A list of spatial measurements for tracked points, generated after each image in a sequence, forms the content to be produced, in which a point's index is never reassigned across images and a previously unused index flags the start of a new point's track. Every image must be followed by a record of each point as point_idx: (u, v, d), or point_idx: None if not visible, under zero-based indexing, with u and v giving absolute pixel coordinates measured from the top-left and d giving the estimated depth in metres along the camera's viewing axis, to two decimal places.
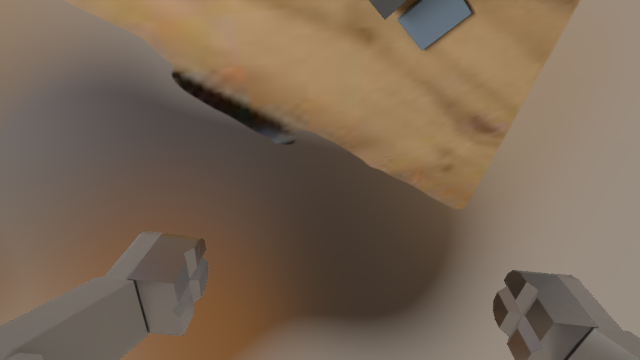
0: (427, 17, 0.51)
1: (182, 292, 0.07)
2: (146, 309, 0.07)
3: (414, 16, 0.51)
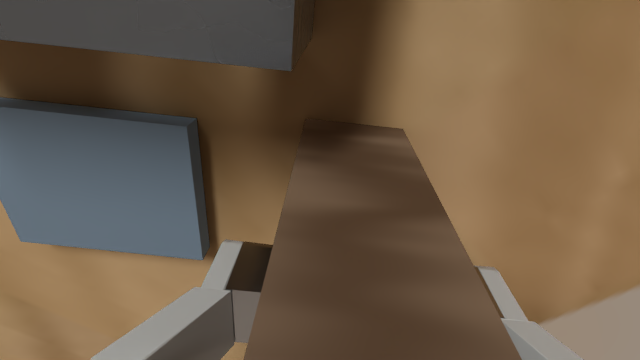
0: (70, 175, 0.14)
1: None
2: (238, 318, 0.07)
3: (25, 139, 0.13)
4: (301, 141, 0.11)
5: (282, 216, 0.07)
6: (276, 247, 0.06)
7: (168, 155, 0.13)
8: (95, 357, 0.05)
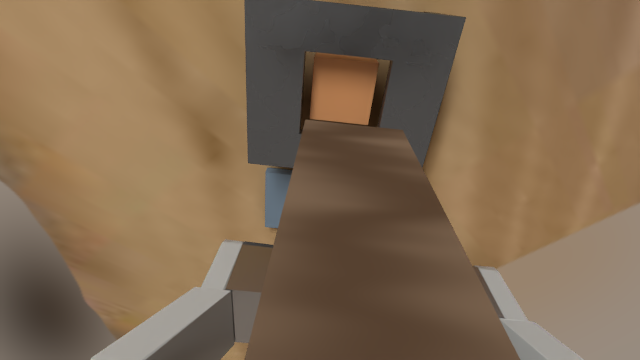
0: None
1: None
2: (238, 318, 0.07)
3: (287, 185, 0.33)
4: (301, 142, 0.11)
5: (282, 218, 0.07)
6: (276, 249, 0.06)
7: None
8: (97, 358, 0.05)
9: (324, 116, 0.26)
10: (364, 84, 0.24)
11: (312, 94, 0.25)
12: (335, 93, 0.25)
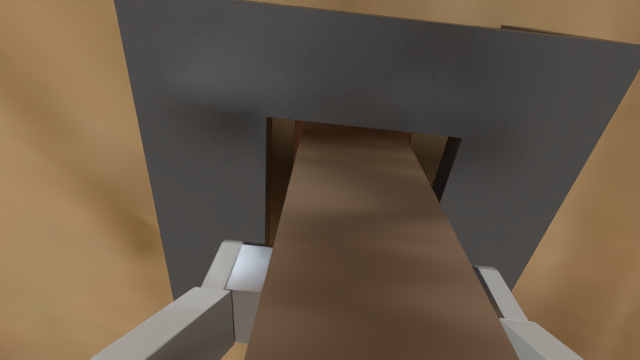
0: None
1: None
2: (238, 318, 0.07)
3: None
4: (301, 142, 0.11)
5: (282, 218, 0.07)
6: (276, 249, 0.06)
7: None
8: (96, 357, 0.05)
9: None
10: None
11: None
12: None
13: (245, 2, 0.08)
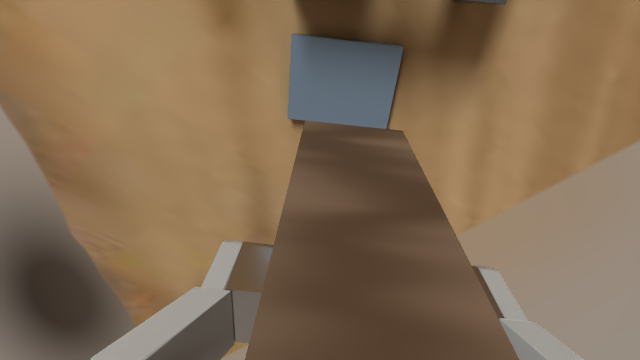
0: (333, 76, 0.27)
1: None
2: (238, 318, 0.07)
3: (318, 55, 0.26)
4: (301, 143, 0.11)
5: (282, 219, 0.07)
6: (276, 250, 0.06)
7: (388, 63, 0.26)
8: (96, 357, 0.05)
9: None
10: None
11: None
12: None
13: None
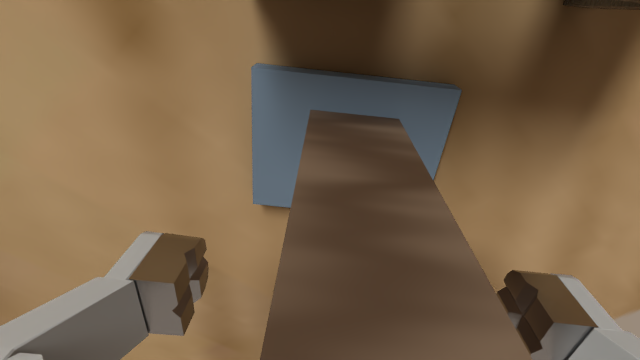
0: None
1: (182, 292, 0.07)
2: (146, 309, 0.07)
3: (303, 103, 0.14)
4: (308, 128, 0.12)
5: (296, 186, 0.08)
6: (293, 209, 0.07)
7: (432, 118, 0.14)
8: None
9: None
10: None
11: None
12: None
13: None
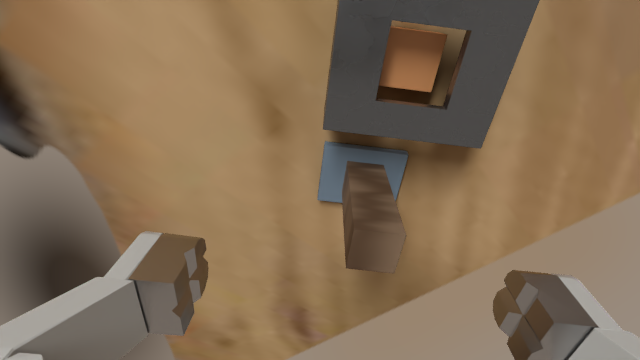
0: None
1: (182, 292, 0.07)
2: (146, 309, 0.07)
3: (344, 158, 0.34)
4: (348, 170, 0.32)
5: (350, 193, 0.29)
6: (351, 199, 0.28)
7: (397, 165, 0.34)
8: None
9: (392, 83, 0.29)
10: (432, 54, 0.27)
11: (384, 62, 0.28)
12: (405, 61, 0.28)
13: None
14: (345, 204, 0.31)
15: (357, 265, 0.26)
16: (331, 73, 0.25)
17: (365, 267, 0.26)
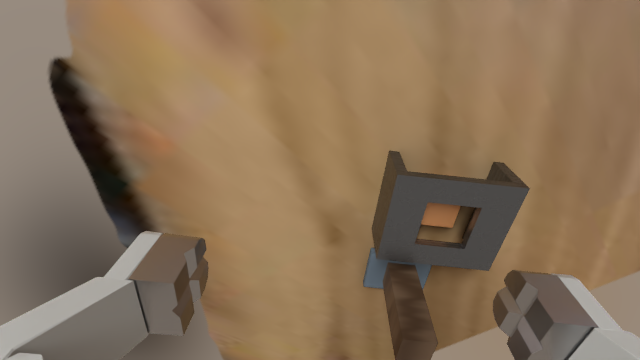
0: None
1: (182, 292, 0.07)
2: (146, 309, 0.07)
3: (385, 260, 0.46)
4: (390, 274, 0.44)
5: (395, 300, 0.40)
6: (397, 307, 0.39)
7: (425, 265, 0.46)
8: None
9: (425, 222, 0.40)
10: (453, 206, 0.39)
11: None
12: (434, 210, 0.39)
13: (429, 178, 0.33)
14: (389, 301, 0.43)
15: (403, 358, 0.37)
16: (384, 229, 0.37)
17: (408, 359, 0.37)
